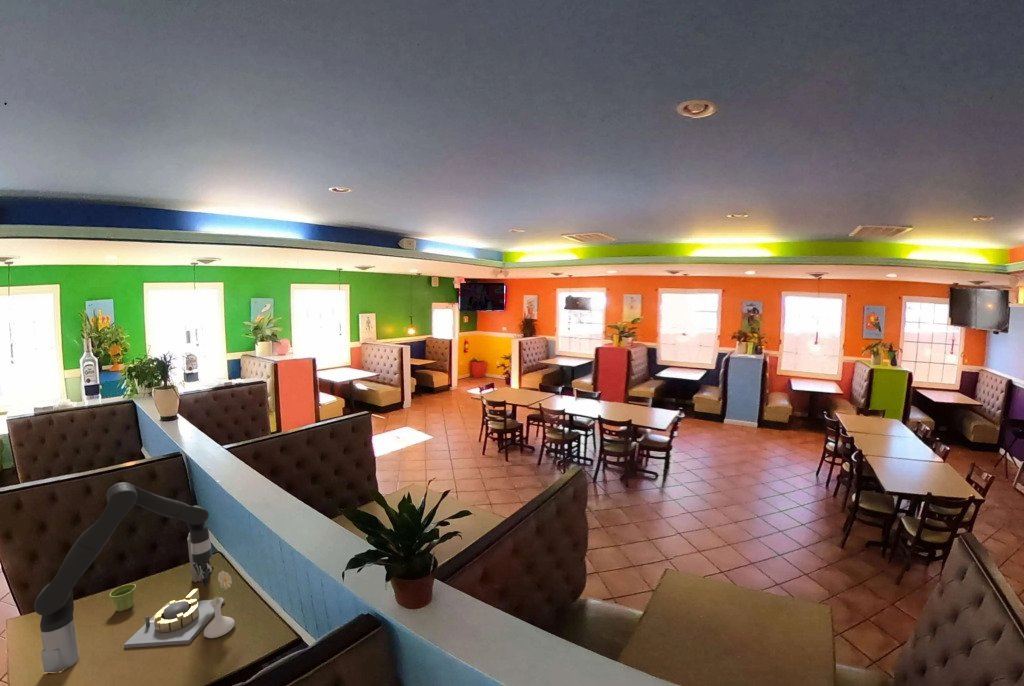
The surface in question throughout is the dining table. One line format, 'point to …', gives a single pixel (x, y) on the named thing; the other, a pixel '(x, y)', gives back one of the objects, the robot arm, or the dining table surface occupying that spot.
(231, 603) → the dining table surface
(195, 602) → the segmented wooden ring
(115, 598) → the plant pot
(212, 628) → the flower in vase
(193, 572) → the thermos bottle
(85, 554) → the robot arm
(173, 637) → the boss plate
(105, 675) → the dining table surface
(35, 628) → the dining table surface
